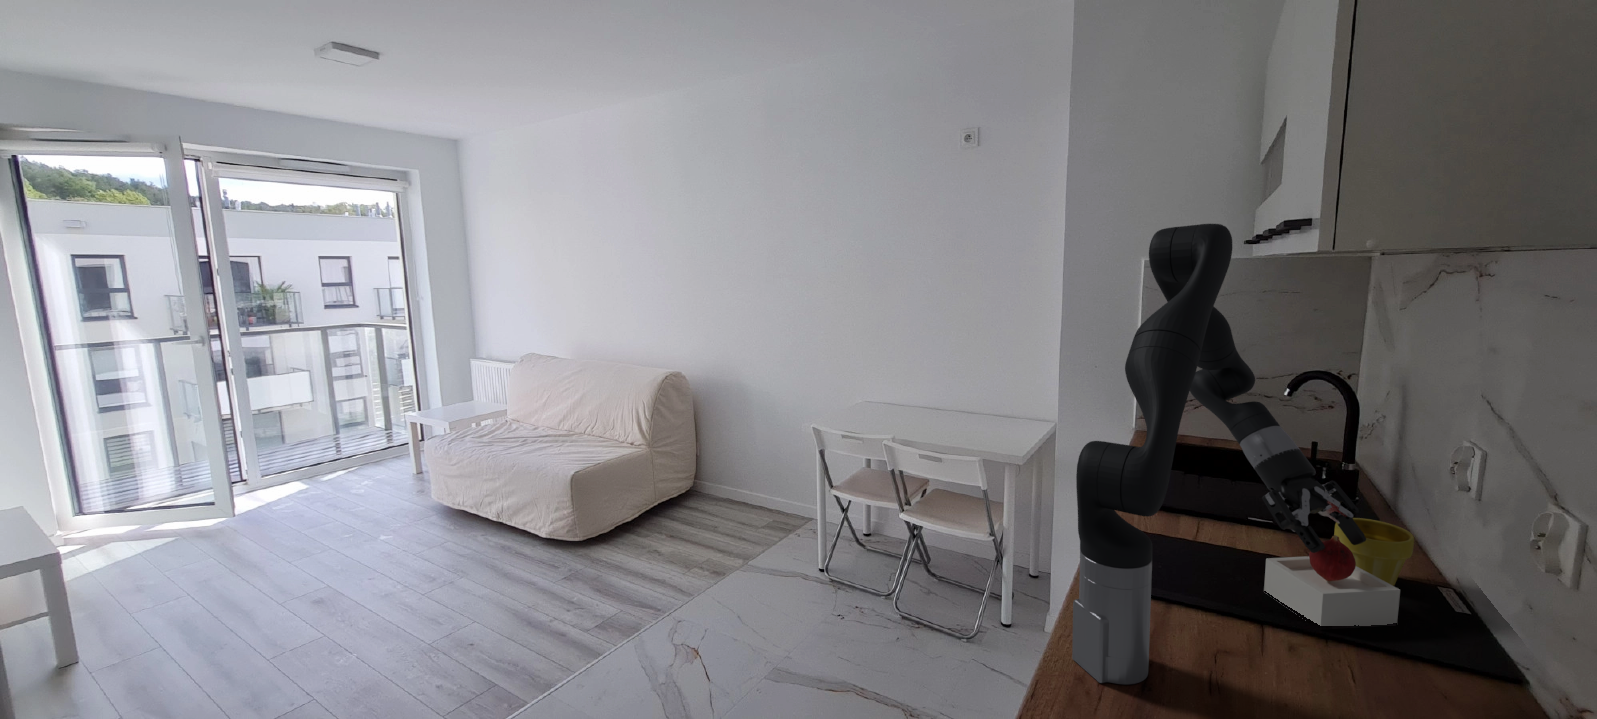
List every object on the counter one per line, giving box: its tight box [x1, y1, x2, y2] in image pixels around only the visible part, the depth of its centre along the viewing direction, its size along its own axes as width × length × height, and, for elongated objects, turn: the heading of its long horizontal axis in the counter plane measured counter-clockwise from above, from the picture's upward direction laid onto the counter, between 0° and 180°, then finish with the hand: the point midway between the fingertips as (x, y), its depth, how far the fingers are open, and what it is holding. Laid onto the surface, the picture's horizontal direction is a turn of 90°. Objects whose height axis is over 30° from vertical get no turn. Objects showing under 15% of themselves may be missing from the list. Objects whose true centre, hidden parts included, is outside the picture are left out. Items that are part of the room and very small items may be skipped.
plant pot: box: [1333, 517, 1415, 587], centre depth 113 cm, size 10×10×10 cm
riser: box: [1263, 555, 1401, 626], centre depth 106 cm, size 12×12×6 cm
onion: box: [1308, 534, 1356, 581], centre depth 105 cm, size 6×6×8 cm
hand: (1340, 546), depth 103 cm, fingers open, 8 cm apart
